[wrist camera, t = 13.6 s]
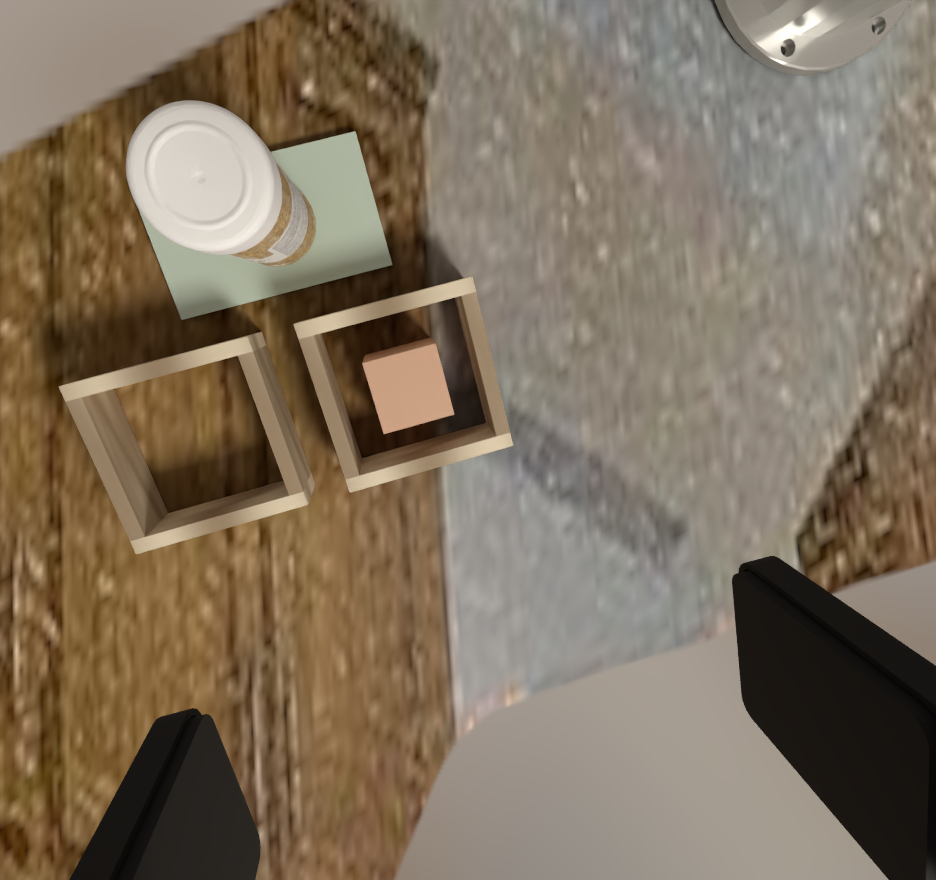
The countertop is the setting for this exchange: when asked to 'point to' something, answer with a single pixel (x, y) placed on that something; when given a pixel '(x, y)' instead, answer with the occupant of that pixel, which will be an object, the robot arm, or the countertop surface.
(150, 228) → the mat
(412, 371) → the terracotta cube
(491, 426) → the box
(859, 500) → the countertop surface
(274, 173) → the sprinkles bottle
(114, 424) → the box
